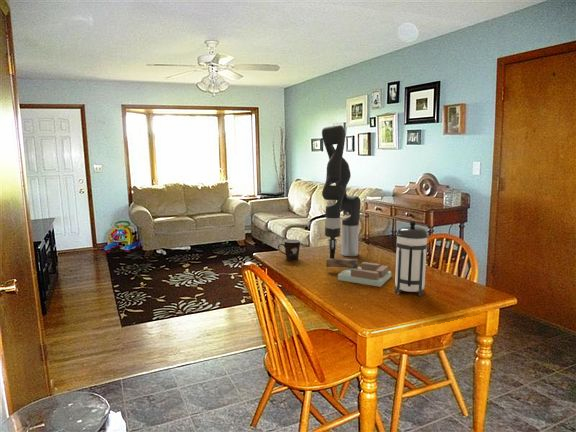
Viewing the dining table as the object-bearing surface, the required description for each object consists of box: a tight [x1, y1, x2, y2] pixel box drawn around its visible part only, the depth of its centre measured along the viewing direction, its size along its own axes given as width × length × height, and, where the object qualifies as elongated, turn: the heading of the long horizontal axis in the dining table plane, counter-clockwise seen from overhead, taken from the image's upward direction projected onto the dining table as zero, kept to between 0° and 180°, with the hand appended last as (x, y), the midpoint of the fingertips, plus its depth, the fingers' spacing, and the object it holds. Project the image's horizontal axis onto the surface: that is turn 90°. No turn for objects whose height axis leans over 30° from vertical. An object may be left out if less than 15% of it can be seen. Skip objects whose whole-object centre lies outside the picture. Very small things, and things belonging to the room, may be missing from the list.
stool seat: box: [337, 261, 392, 287], centre depth 201 cm, size 17×20×6 cm
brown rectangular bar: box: [325, 257, 359, 268], centre depth 210 cm, size 15×3×4 cm, turn 84°
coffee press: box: [394, 220, 429, 297], centre depth 180 cm, size 17×16×30 cm
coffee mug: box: [277, 238, 301, 262], centre depth 234 cm, size 12×9×10 cm
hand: (332, 260), depth 214 cm, fingers closed
